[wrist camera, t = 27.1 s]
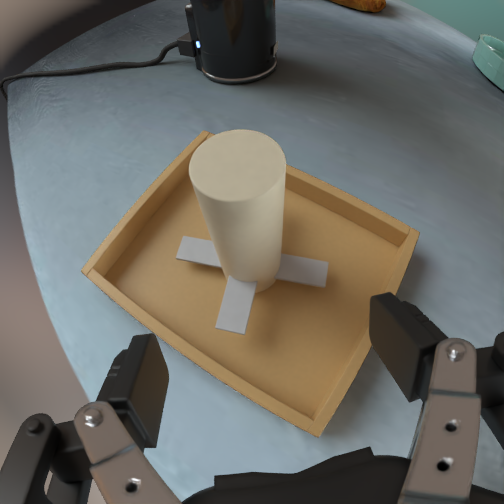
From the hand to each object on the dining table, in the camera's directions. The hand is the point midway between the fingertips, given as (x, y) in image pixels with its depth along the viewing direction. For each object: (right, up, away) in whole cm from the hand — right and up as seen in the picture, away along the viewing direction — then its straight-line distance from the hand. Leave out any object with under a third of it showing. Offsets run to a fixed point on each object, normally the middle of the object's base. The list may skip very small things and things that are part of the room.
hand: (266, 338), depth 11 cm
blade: (-1, +2, +11) cm, 12 cm away
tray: (-1, +2, +12) cm, 12 cm away
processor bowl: (+45, +34, +25) cm, 62 cm away
